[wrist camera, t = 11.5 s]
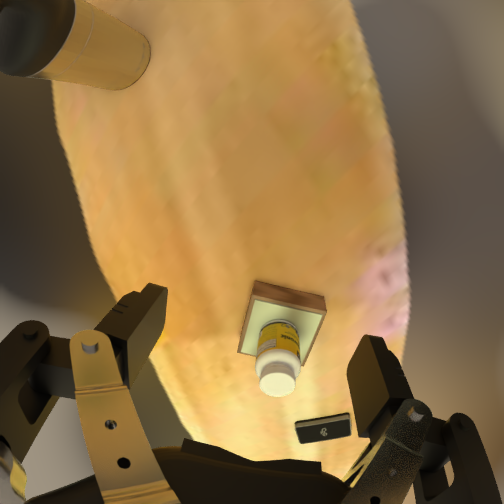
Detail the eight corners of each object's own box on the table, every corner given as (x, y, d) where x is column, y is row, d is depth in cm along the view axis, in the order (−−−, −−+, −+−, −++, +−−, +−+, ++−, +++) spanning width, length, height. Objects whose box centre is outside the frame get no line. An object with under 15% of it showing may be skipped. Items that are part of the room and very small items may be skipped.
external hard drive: (294, 419, 53) (294, 427, 51) (349, 410, 51) (350, 417, 49) (299, 437, 55) (299, 444, 53) (351, 428, 53) (352, 435, 51)
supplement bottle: (306, 339, 40) (310, 390, 31) (273, 355, 41) (269, 406, 32) (285, 311, 38) (285, 361, 29) (251, 329, 40) (242, 380, 31)
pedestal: (240, 336, 46) (236, 353, 42) (254, 280, 42) (252, 295, 38) (302, 349, 46) (303, 367, 42) (323, 296, 42) (327, 312, 38)
